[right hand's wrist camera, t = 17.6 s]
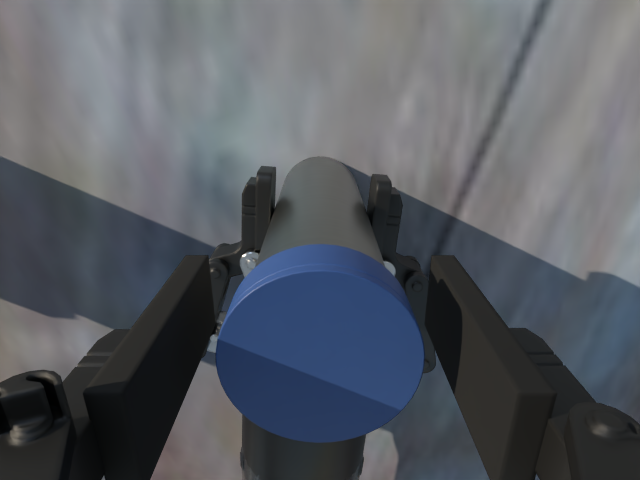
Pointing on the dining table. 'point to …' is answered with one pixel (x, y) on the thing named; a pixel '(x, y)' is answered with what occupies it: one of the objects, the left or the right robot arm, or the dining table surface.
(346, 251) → the lid
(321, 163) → the jar
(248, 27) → the dining table surface
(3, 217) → the dining table surface
